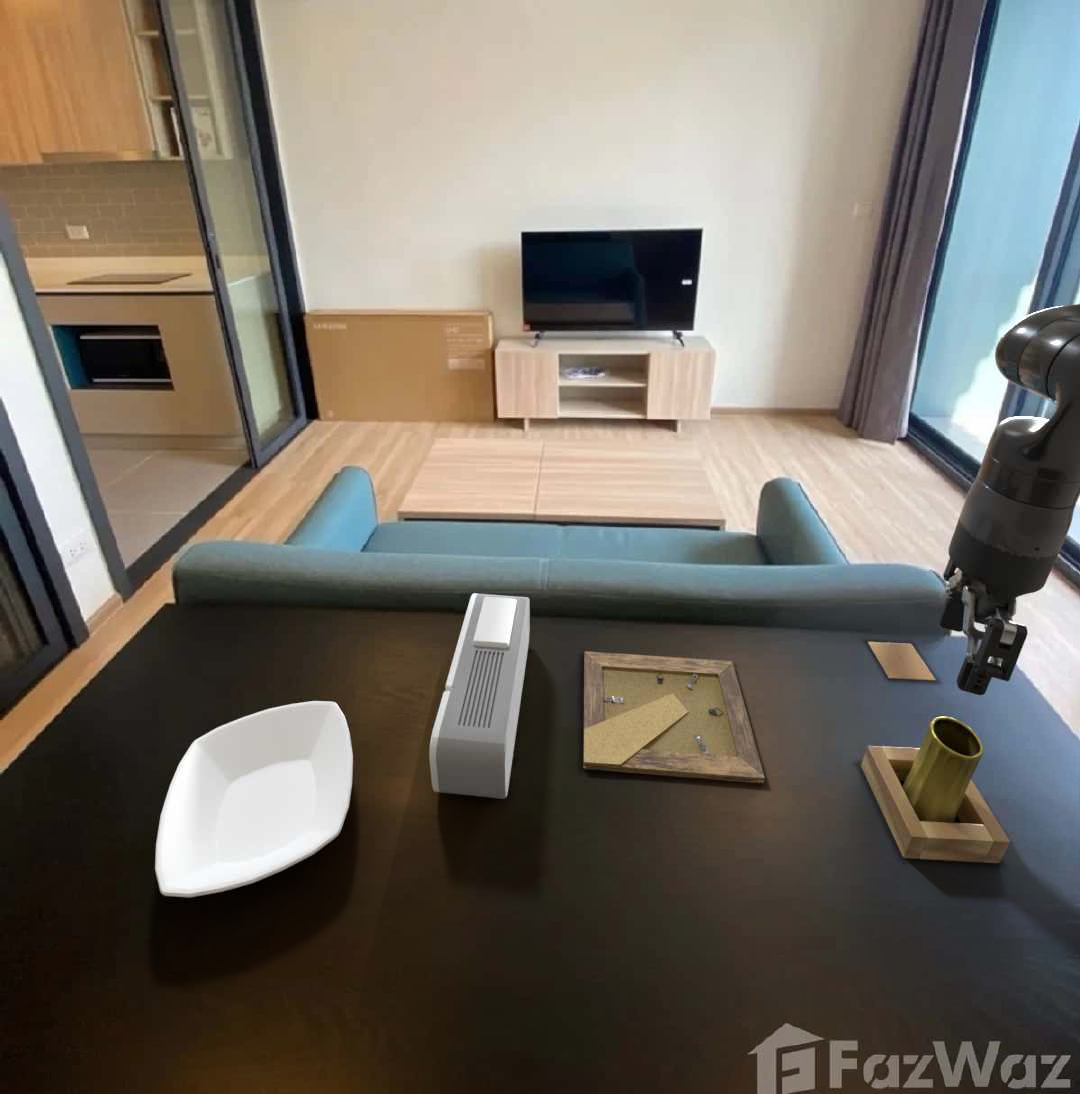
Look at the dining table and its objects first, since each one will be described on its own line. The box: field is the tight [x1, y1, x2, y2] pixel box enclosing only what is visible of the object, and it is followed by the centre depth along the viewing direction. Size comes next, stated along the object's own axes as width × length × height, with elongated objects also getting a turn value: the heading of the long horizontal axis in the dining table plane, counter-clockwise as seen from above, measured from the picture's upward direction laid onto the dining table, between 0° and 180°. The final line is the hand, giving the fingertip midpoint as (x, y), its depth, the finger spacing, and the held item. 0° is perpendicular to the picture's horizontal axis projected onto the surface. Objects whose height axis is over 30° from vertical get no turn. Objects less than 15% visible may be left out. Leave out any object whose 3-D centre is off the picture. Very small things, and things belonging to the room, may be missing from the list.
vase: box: [901, 716, 984, 823], centre depth 71 cm, size 6×6×14 cm
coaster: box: [867, 641, 937, 682], centre depth 94 cm, size 7×7×1 cm
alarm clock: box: [428, 593, 531, 800], centre depth 83 cm, size 27×9×12 cm, turn 175°
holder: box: [860, 745, 1011, 864], centre depth 72 cm, size 11×11×4 cm
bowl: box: [154, 700, 354, 898], centre depth 72 cm, size 22×22×5 cm
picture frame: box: [582, 650, 766, 784], centre depth 85 cm, size 19×2×24 cm
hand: (958, 656), depth 60 cm, fingers open, 8 cm apart
